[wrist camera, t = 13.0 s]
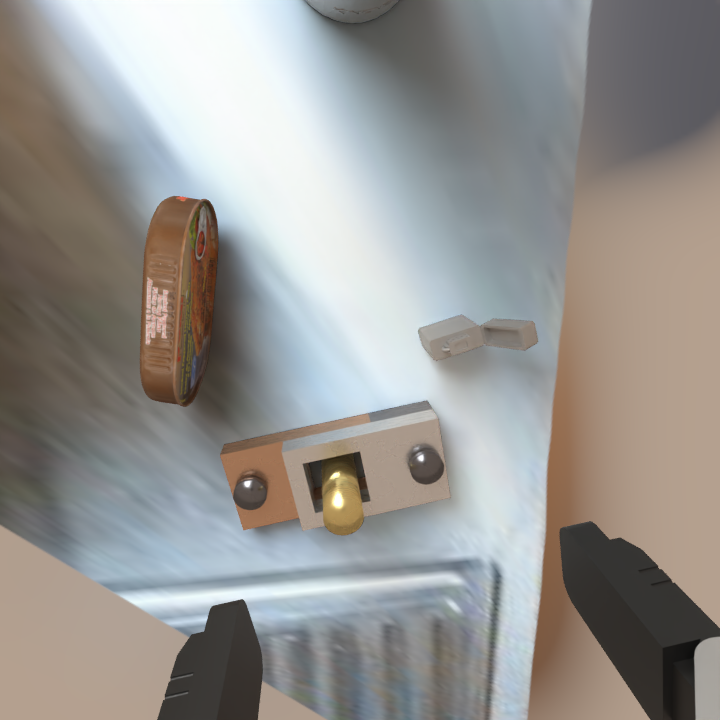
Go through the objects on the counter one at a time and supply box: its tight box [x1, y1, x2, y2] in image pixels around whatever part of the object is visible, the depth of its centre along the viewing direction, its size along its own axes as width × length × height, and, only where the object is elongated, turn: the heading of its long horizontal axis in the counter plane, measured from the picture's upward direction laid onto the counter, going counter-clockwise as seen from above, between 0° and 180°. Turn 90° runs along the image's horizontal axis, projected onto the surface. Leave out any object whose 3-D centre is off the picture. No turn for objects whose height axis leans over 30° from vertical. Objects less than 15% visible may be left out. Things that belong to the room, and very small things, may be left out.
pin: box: [321, 453, 364, 535], centre depth 40 cm, size 3×3×9 cm
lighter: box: [418, 315, 538, 361], centre depth 38 cm, size 7×2×8 cm, turn 108°
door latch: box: [220, 401, 451, 531], centre depth 42 cm, size 8×18×5 cm, turn 101°
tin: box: [140, 196, 218, 407], centre depth 35 cm, size 15×3×8 cm, turn 171°
